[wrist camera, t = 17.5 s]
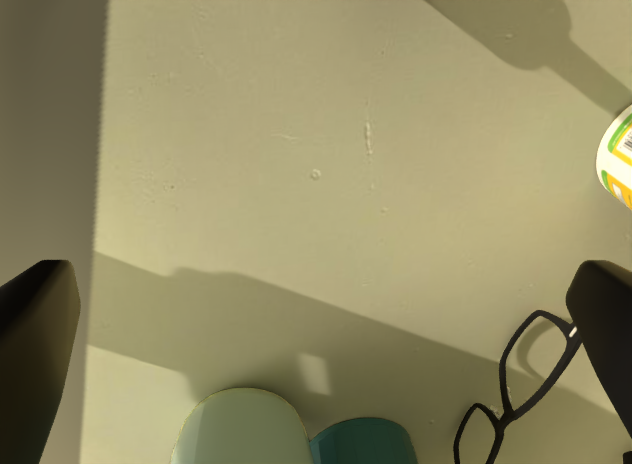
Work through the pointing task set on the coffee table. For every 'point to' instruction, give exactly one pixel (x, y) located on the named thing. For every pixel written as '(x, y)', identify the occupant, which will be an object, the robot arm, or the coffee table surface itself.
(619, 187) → the supplement bottle
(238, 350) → the coffee table surface
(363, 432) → the jar
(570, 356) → the eyeglasses
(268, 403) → the cup
